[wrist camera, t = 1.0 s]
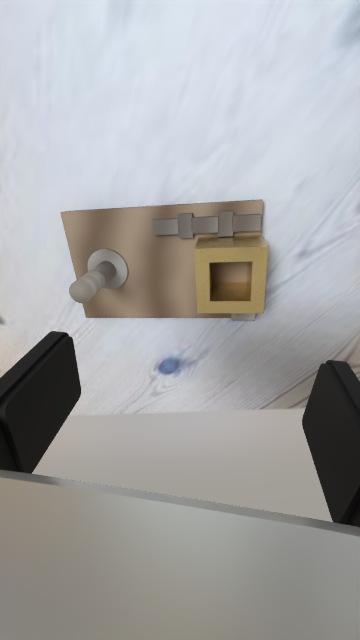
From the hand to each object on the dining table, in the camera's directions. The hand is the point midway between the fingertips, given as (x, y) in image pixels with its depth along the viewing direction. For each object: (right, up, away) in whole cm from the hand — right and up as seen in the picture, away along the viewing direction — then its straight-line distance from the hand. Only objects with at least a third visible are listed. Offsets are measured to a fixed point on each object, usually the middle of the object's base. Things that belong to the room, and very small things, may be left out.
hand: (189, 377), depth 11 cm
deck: (-2, +8, +20) cm, 22 cm away
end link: (+5, +8, +18) cm, 20 cm away
